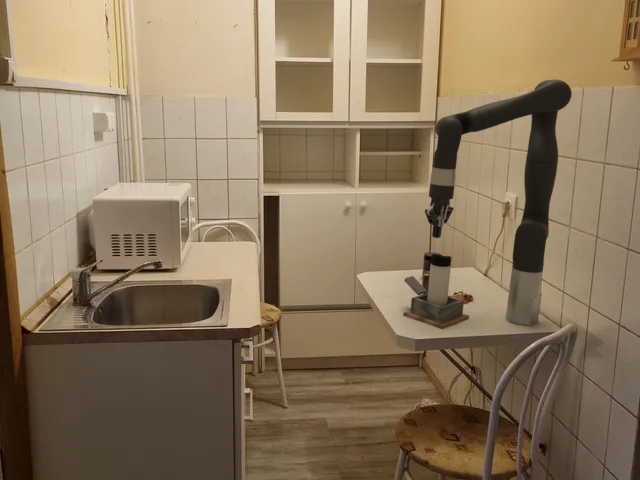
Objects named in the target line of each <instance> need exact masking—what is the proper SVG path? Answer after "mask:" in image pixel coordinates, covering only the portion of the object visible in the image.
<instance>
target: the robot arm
mask: <svg viewBox="0 0 640 480" xmlns="http://www.w3.org/2000/svg"><path fill="white" fill-rule="evenodd" d="M572 93H573V91H572V89H571V87H570V85H569V84H568V83H567V82H565V81H563V80H561V79H548V80H543V81H541V82H540V83H538V84H537V85H536V86H535V87H534V89H533V90H531V91H529V92H526V93H523V94H521V95H518V96H514V97H511V98H505V99H501V100H498V101H494V102H490V103H486V104H483V105H481V106H477V107H474V108H471V109H469V110H466V111H463V112H459V113H455V114H451V115H447V116H444V117H442V118H440V119H439V120H438V121H437V122H436V125H435V134H436V136H437V144H436V149H435V151H434V154H433V162H432V169H431V173H430V181H429V189H428V197H429V198H431V201H430V203H429V208H428V209H427V208H426V209H424V213H425V216H426V219H427V221H428V224H429V225H432V233H431V235H432V238H435V239H439V238H441V237H442V231H443V230H442V229H443V226H444V225H445V224H447V223H448V221H449V220H450V217H451V216H452V214H453V211H454V210H455V209H454V207H452V206H450V204H451V202H450V200H453V199H454V195H455V185H456V179H457V176H456V175H457V174H456V173H457V172H456V170H457V162H458V152H459V149H460V143H461V139H462V136H463V135H466V134H469V133H477V132H481V131H485V130H487V129H490V128H491V129H492V128H494V127H496V126H499V125H503V124H505V123H508V122H511V121H514V120H517V119H520V118H523V117H526V116H531V124H530V134H529V138H528V144H527V152H526V158H525V166H524V174H523V175H524V177H523V178H524V179H523V181H524V182H523V183H524V197H525V198H524V199H525V200H524V201H525V202H524V207H523V213H522V218H521V221H520V224H519V225H518V227H517V228H516V230H515V235H514V240H513V250H512V251H513V252H512V266H511V275H510V281H509V282H510V283H509V290H508V296H507V297H508V298H507V305H506V313H505V319H506V320H507V321H508V322H510V323H514V324H516V325H517V324H518V325H522V326H523V325H525V326H529V327H530V326H532V325H534V324H536V323H538V322H539V319H540V318H539V317H540V311H541V304H542V297H543V295H542V293H540V291H541V285H542V284H541V283H542V280H543V279H542V278H543V271H544V266H545V265H544V261H545V260H544V259H545V250H546V244H547V239H548V237H549V229H550V227H549V223H550V222H549V216H550V214H549V213H550V203H551V200H552V199H551V198H552V195H553V191H554V187H555V182H556V179H557V171H558V163H559V147H558V141H557V134H556V133H557V132H556V129H557V128H556V126H557V125H556V124H557V119H558V112H559V111H561V110H563V109H564V108H565V107H567V106H568V104H570V101H571V99H572Z"/></svg>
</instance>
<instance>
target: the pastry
mask: <svg viewBox="0 0 640 480" xmlns="http://www.w3.org/2000/svg"><path fill="white" fill-rule="evenodd" d="M450 296H451V297H454V298H457V299H461V300H464V305H467V304H470V301H471V300H472V301H473V300H474V297H473V295H472V294H471V293H469V294H467V292H466V291H463V290H459V291H455V292H453V294H451V295H450Z"/></svg>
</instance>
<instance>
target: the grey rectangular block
mask: <svg viewBox="0 0 640 480" xmlns="http://www.w3.org/2000/svg"><path fill="white" fill-rule="evenodd" d="M403 281H404V283H406V284H407V285H408V286H409V287H410V288H411V290H412V291H413V292H414V293H415V294H416V295H417V296H419V295H422V294H424V293H426V291H427V290H426V289H425V288H424V287H423V286H422V283H421V282H420V281H419V280H418V279H417V278H415V276H414V275H411V276H408V277H405V278H404V280H403Z"/></svg>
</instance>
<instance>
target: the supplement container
mask: <svg viewBox="0 0 640 480" xmlns="http://www.w3.org/2000/svg"><path fill="white" fill-rule="evenodd" d="M432 254H439V255H441V256H443V255H442V254H441V253H438V252H431V251H430V252H424V253H423V263H422V264H423V265H422V274H421V279H422V280H423V271H430V266H431V258H432Z"/></svg>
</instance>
